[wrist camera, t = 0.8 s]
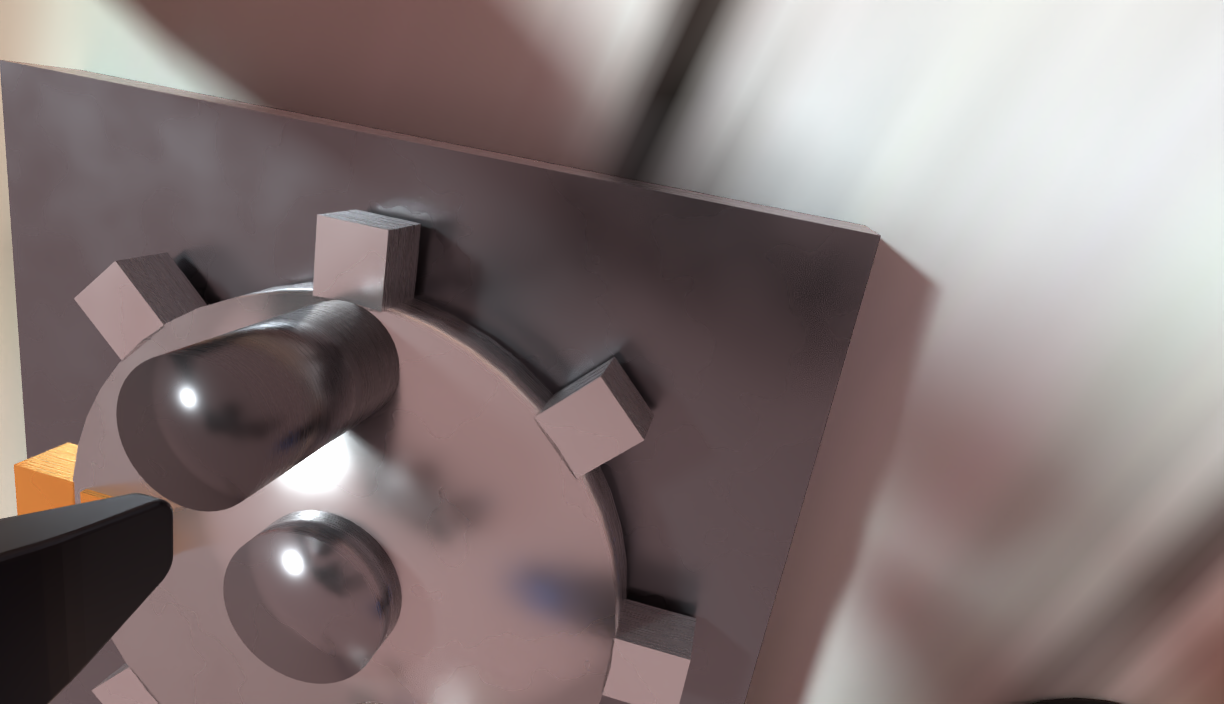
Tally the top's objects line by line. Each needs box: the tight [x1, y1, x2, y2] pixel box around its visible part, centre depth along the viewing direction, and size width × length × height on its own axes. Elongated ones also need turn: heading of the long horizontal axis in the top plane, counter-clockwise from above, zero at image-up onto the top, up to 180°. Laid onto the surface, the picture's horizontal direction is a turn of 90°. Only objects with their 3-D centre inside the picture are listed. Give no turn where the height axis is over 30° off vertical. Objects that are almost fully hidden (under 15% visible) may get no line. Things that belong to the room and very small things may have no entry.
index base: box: [0, 60, 880, 704], centre depth 21 cm, size 24×24×6 cm
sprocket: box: [14, 210, 696, 704], centre depth 18 cm, size 20×20×7 cm
